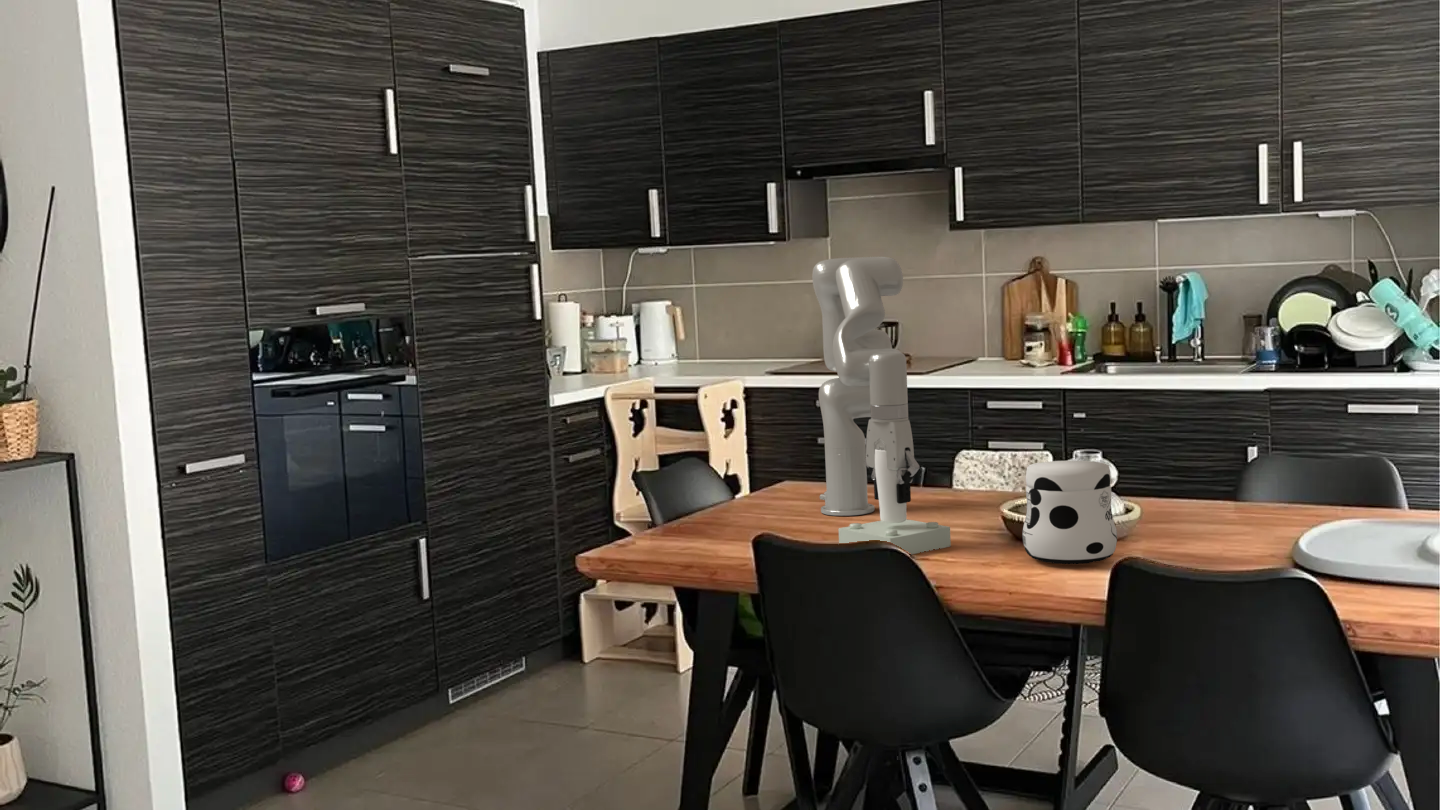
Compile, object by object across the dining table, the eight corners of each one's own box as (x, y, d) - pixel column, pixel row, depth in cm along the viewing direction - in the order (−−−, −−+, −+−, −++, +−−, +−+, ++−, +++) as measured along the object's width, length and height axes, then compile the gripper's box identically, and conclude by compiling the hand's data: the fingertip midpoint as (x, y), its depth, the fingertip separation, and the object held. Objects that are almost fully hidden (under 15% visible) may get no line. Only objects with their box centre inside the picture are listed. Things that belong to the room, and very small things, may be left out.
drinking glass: (906, 524, 278) (903, 450, 276) (873, 524, 280) (870, 450, 279) (913, 518, 284) (911, 446, 283) (881, 517, 287) (878, 446, 285)
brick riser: (839, 547, 285) (838, 524, 284) (897, 536, 294) (896, 513, 293) (891, 558, 272) (890, 534, 271) (950, 546, 281) (949, 522, 280)
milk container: (1137, 559, 260) (1135, 465, 258) (1072, 574, 251) (1070, 476, 249) (1067, 547, 274) (1065, 457, 273) (1004, 560, 265) (1001, 467, 263)
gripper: (847, 412, 285) (851, 498, 287) (904, 417, 271) (907, 508, 273) (875, 408, 289) (878, 493, 291) (932, 413, 275) (935, 503, 277)
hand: (892, 499), depth 282 cm, fingers closed on drinking glass, 6 cm apart
